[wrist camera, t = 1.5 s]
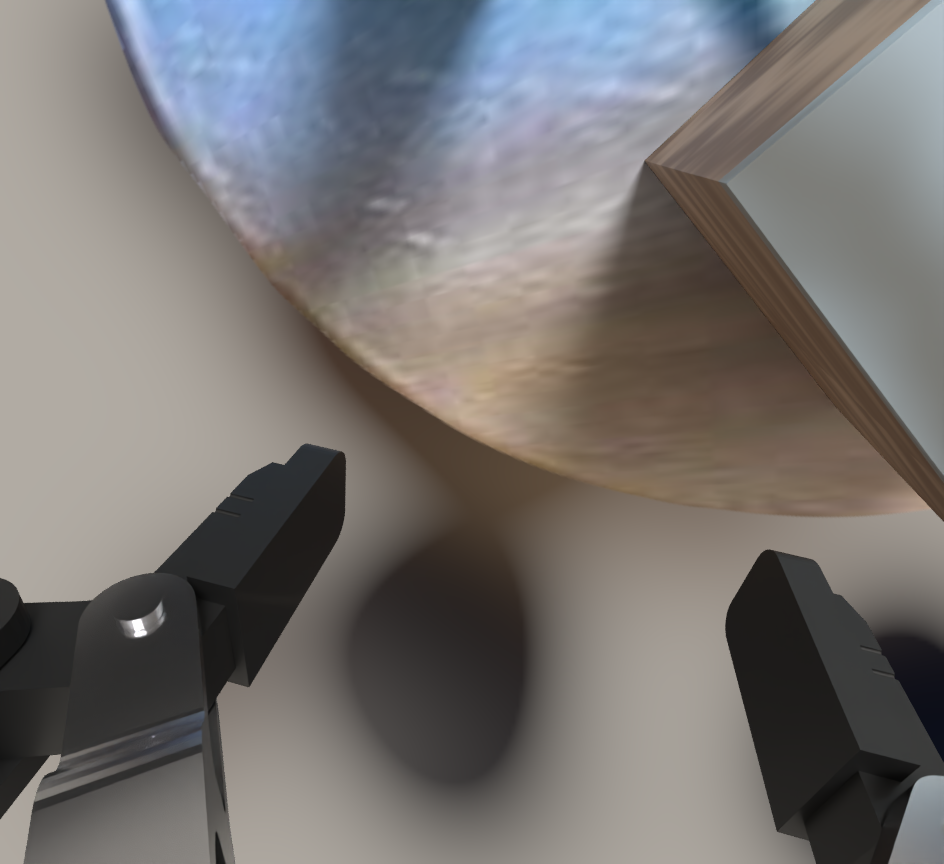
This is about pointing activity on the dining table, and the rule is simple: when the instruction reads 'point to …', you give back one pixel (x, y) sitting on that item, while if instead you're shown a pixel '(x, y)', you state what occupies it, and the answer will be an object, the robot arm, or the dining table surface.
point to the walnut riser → (838, 211)
